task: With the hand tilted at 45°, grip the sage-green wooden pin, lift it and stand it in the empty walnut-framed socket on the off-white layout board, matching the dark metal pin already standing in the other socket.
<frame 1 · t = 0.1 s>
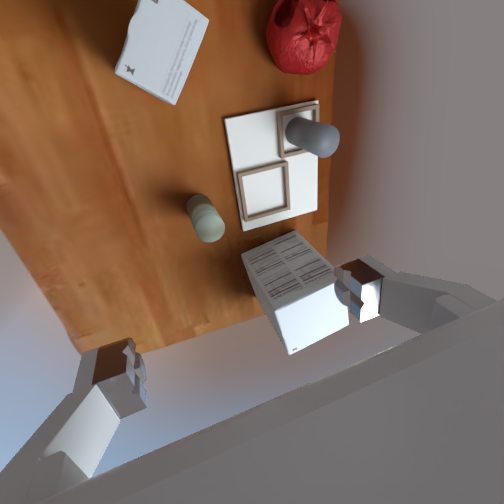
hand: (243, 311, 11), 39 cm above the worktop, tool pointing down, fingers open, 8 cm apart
layout board: (276, 170, 51), on the worktop
pomegranate: (290, 35, 41), on the worktop
sage pin: (199, 206, 50), on the worktop
skincare box: (152, 55, 37), on the worktop
supplement box: (274, 263, 63), on the worktop
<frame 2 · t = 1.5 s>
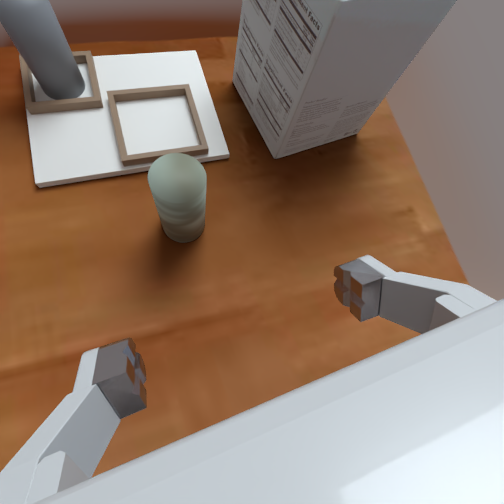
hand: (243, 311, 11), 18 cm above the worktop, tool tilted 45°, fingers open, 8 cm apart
layout board: (128, 113, 33), on the worktop
sage pin: (183, 223, 30), on the worktop
supplement box: (294, 109, 38), on the worktop
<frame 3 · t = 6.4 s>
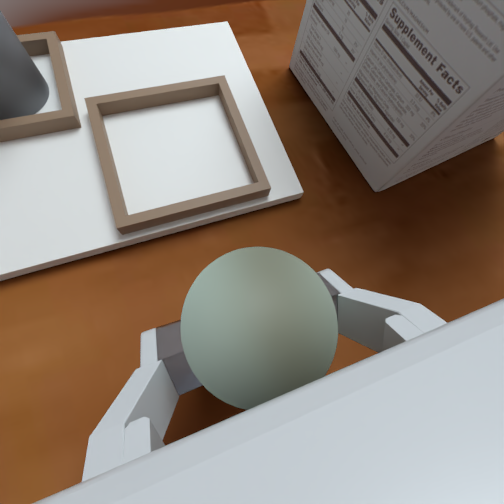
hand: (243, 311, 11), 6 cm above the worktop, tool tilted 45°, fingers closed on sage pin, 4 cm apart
layout board: (125, 133, 19), on the worktop
sage pin: (237, 332, 16), on the worktop, touching gripper
supplement box: (390, 104, 24), on the worktop
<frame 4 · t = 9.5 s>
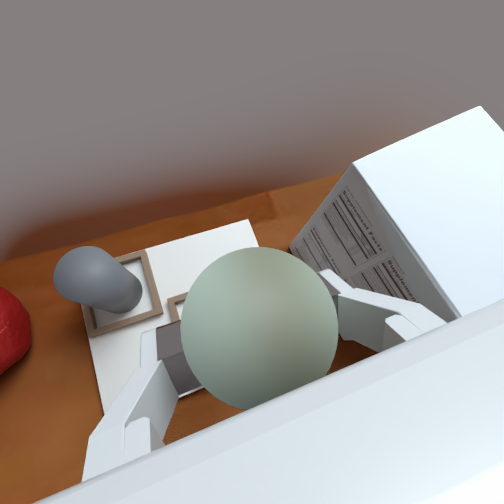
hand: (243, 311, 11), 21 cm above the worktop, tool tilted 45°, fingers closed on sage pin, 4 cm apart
layout board: (187, 310, 31), on the worktop
sage pin: (237, 332, 16), point 15 cm above the worktop, touching gripper
supplement box: (356, 268, 36), on the worktop
when the fingers open (8 cm above the worktop, at t = 12.6 s): sage pin drops 1 cm, resting on layout board.
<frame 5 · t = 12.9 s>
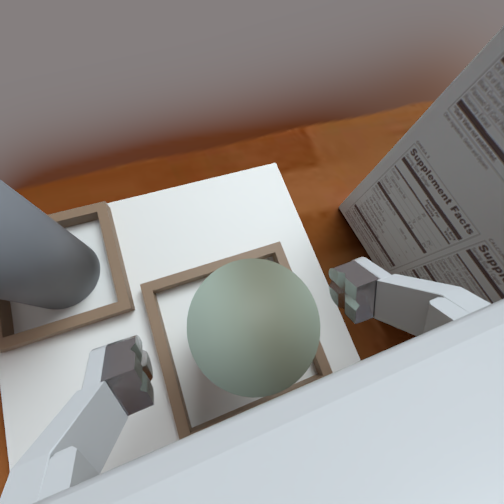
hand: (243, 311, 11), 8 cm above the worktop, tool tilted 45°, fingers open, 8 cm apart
layout board: (177, 304, 19), on the worktop
sage pin: (236, 333, 18), point 1 cm above the worktop, touching layout board
supplement box: (442, 243, 23), on the worktop
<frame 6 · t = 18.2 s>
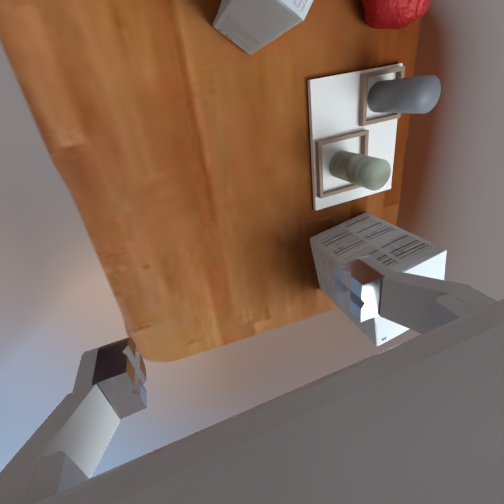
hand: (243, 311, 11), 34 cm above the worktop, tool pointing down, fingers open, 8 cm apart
layout board: (353, 141, 48), on the worktop
sage pin: (340, 164, 48), point 1 cm above the worktop, touching layout board
skincare box: (244, 6, 35), on the worktop
supplement box: (341, 251, 58), on the worktop
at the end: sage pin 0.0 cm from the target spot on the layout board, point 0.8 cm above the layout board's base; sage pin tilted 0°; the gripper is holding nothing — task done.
